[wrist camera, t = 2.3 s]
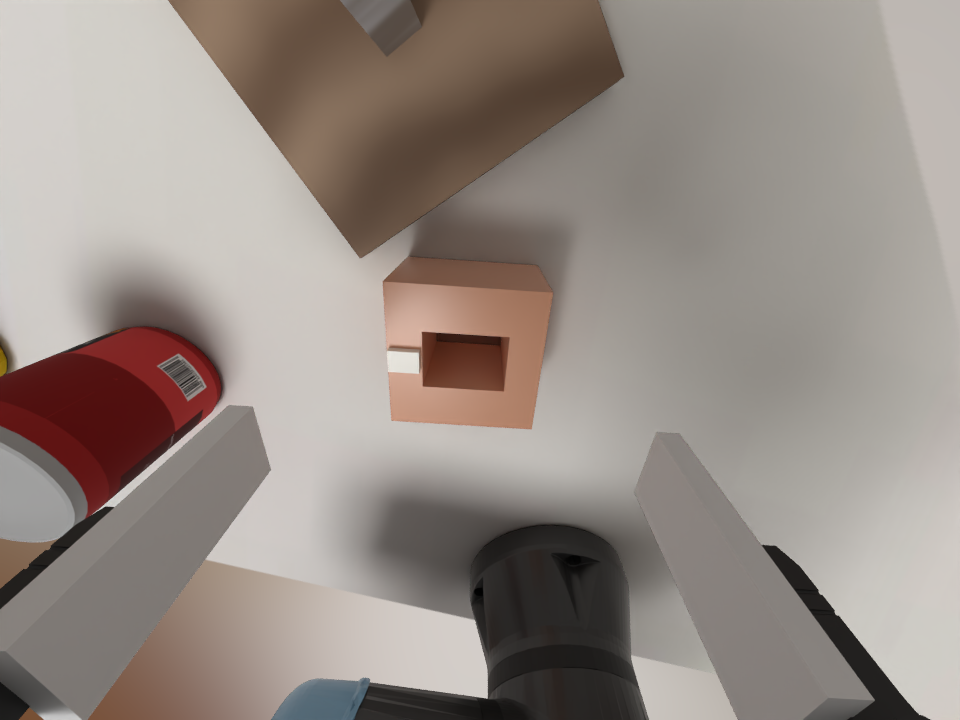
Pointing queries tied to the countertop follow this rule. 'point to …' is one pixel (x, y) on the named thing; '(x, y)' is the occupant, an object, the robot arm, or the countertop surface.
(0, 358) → the soap bottle
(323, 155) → the base plate
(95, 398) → the canned food
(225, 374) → the countertop surface
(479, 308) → the orange open box
